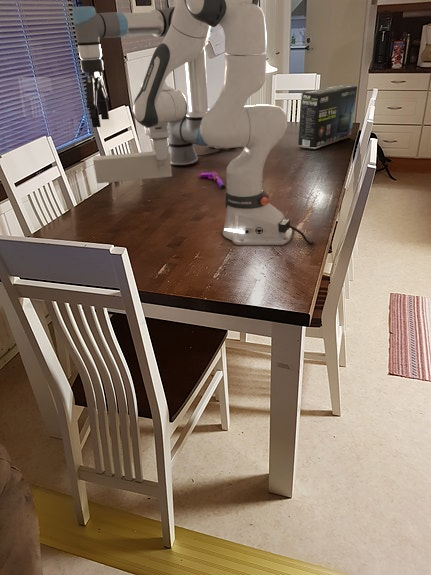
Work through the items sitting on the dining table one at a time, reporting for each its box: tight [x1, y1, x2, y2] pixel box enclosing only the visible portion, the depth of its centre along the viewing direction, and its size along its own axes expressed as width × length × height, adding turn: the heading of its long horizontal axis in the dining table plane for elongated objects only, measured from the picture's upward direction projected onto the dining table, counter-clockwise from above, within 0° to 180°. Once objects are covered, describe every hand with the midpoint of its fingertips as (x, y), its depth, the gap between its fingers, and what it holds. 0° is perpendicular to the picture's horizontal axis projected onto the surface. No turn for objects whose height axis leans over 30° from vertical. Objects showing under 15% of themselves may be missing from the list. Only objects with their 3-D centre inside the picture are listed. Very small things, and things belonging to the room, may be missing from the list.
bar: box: [92, 150, 173, 184], centre depth 166 cm, size 27×5×8 cm, turn 100°
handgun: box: [199, 171, 226, 190], centre depth 194 cm, size 21×8×2 cm, turn 11°
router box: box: [297, 84, 358, 151], centre depth 238 cm, size 36×11×27 cm, turn 134°
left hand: (101, 123), depth 169 cm, fingers open, 13 cm apart
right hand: (161, 167), depth 168 cm, fingers closed on bar, 5 cm apart
